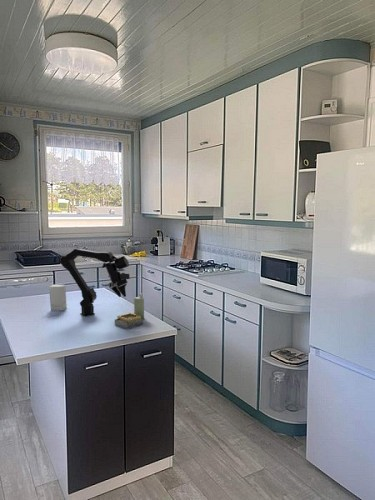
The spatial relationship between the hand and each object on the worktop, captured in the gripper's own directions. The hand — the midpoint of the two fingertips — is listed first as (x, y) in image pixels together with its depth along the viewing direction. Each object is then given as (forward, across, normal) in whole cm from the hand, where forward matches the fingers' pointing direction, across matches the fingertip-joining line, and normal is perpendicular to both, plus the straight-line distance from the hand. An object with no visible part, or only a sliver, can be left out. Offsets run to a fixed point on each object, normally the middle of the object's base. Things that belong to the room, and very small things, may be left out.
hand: (122, 296), depth 228 cm
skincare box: (-5, +34, +31) cm, 47 cm away
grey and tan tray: (+14, -15, +7) cm, 21 cm away
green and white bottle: (+15, -7, -2) cm, 17 cm away
